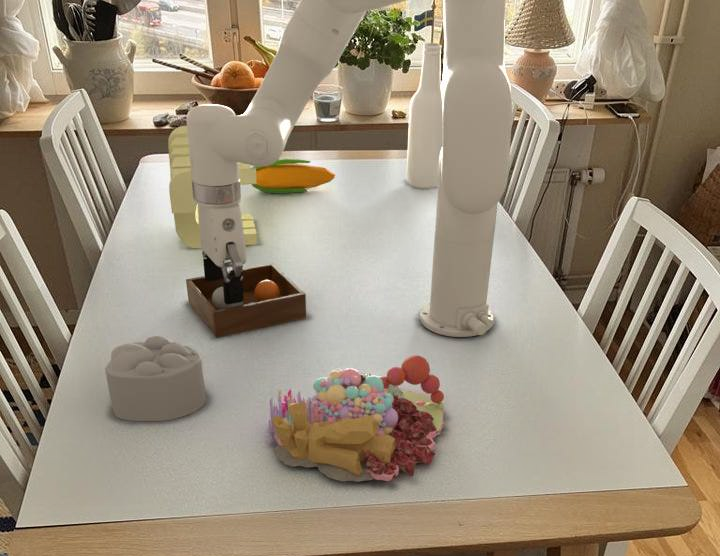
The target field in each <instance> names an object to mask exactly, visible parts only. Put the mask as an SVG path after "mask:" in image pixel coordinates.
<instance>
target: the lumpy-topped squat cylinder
mask: <svg viewBox="0 0 720 556" xmlns="http://www.w3.org/2000/svg"><path fill="white" fill-rule="evenodd" d="M104 372H105V376H106V382H107V386H108V387H107V388H108V391H109V396H110V401H111V402H110V403H111V407H112V411H113V416H115V417H116V418H118V419H120V420H124V421H128V422H163V421H165V422H166V421H171V420H175V419H179V418H182V417H186V416H188V415H192V414H194V413H195V412H197V411H198V410H200V409H201V408H203V407H204V406H205V404H206V403H207V395H206V388H205V387H206V386H205V378H204V370H203V363H202V357H201V354H200V353H199V352H198V351H197V350H196V349H194V348H192V347H191V346H188V345H185V344H181V343H178V342H175V341H169V340H168V339H167V338H165V337H163V336H160V335H152V336H149V337H147V338H146V339H145V340H144V341H135V342H126V343H123V344H121V345H118V346H117V347H115V348H114V349H113V350H112V351H111V356H110V361H109V362H107V364H106V366H105V369H104Z"/></svg>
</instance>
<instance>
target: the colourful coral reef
mask: <svg viewBox="0 0 720 556" xmlns="http://www.w3.org/2000/svg"><path fill="white" fill-rule="evenodd" d="M430 372H431V368H430V363H429V362H428V361H427V359H426V358H424V357H423V356H421V355H418V354H413V355H410V356H408V357H406V358H405V359H404V360H403V362H402V363H401V367H400V366H392V367H390V368H389V369H388V371H387V373H386V376H379V375H374V374H372V373H366V372H364V373H361V372H359V371H358V370H357V369H356V368H353V367H347V368H345V369H343V370H342V369H340V368H335V369H333V370H332V371H331V372H330V374H329V376H328V377H323V376H322V377H318V378H317V379H315V381H314V382H313V383H312V387H313V390H314V391H315V393H314V394H313V396H312V398H311V397H307V398H305V396H304V395H303V396H301V390H299V391H298V393H297V395H296V396H297V400H296V396H293V395H292V393H293V392H292V388H291V387H290V388H289V389H288V390H287V393H286V394H285V395H283V401H282V391H281V389H278V393H277V403H278V407H277V405H276V404H275V403H274V402H273V397H271V398H270V400H269V412H270V413H269V414H270V415H269V417H270V418H269V419H268V427H269V428H268V431H269V437H270V443H273V439H274V440H275V442H276V443H277V445H276V447H275V448H274V453H275V455H276V456H275V457H276V459H277V460H278V461H282V463H283V464H284V465H286V466H289V467H292V468H293V467H303V468H317V469H318V470H319V472H320V473H321V474H324V475H325V476H326V477H327V478H330V479H332V480H336V481H338V482H349V481H353V482H356V483H357V482H358V483H359V482H365V481H372V480H376V481H384V482H391V481H393V480H394V479H395V478H397V476H398V475H399V474H400V473H399V471H402V472H404V473H405V474H407V475H409V476H411V477H412V478H413V477H414V475H415V474H414V473H415V468H416V464H420V463H421V464H422V463H423V464H424V465H425V466H426V467H429V466H430V464H431V462H432V460H433V459H434V457H435V455H436V452H434V450H435V446H436V442H435V441H434V439H435V438H436V437H437V436H440V435H441V434H442V433H441V432H442V430H443V428H444V423H445V422H444V418H445V411H444V409H443V408H444V406H445V405H444V403H443V401H444V398H445V395H444V393H443V391H441V390H440V387H441V382H440V379H439V378H438V377H437V376H436V375H435V374H430ZM404 382H406V383H408V384H410V385H413V386H417V385H420V388H421V390H422V392H424V393H425V394H428V395H430V397H428V396H424V395H422V394H420V393H419V392H414V391H412V390H405V389H402V388H399V386H401V385H402V384H404Z"/></svg>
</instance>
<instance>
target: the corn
mask: <svg viewBox="0 0 720 556" xmlns="http://www.w3.org/2000/svg"><path fill="white" fill-rule="evenodd" d="M310 163H311V160H307V159H300V158H279V159H278V160H277V161H276V162H275V163H273V164H271V165H268V166H252V168H256V181H257V184H250V186H252V187H253V188H255V189H256V190H258V191H260V192H264V193H268V194H299V193H304V192H308V189H312V188H316V187H319V186H323V185H326V184H327V183H331V181H333V180H334V179H335V177H336V174H335V173H334V172H332V171H331V170H330V169H328V168H326V167H322V166H315V165H309V164H310Z"/></svg>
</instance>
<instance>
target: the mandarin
mask: <svg viewBox="0 0 720 556" xmlns="http://www.w3.org/2000/svg"><path fill="white" fill-rule="evenodd" d="M279 296H280V290H279V288H278V286H277V285H276V283H274V282H273V281H270V280H264V281H261V282H260V283H258V284H257V286H256V288H255V298H256V300H257V301H258V302H260V301H265V300H270V299H274V298H279Z"/></svg>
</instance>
